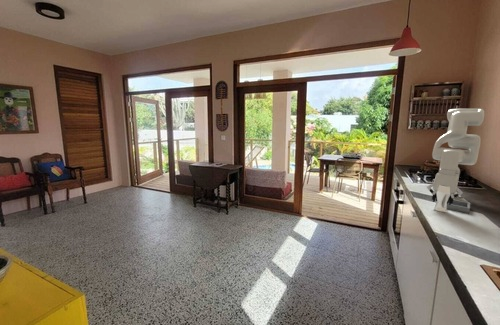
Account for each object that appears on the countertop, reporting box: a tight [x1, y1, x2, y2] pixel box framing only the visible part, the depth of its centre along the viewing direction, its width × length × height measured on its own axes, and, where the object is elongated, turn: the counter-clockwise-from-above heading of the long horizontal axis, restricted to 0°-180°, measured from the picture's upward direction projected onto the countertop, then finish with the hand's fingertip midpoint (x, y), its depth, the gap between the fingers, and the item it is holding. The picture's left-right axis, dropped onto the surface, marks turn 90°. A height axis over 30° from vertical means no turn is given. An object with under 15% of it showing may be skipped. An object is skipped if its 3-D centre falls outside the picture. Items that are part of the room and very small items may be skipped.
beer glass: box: [433, 185, 451, 213], centre depth 133 cm, size 7×7×15 cm
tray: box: [447, 199, 471, 214], centre depth 139 cm, size 13×12×3 cm
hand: (441, 202), depth 134 cm, fingers closed on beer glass, 6 cm apart
